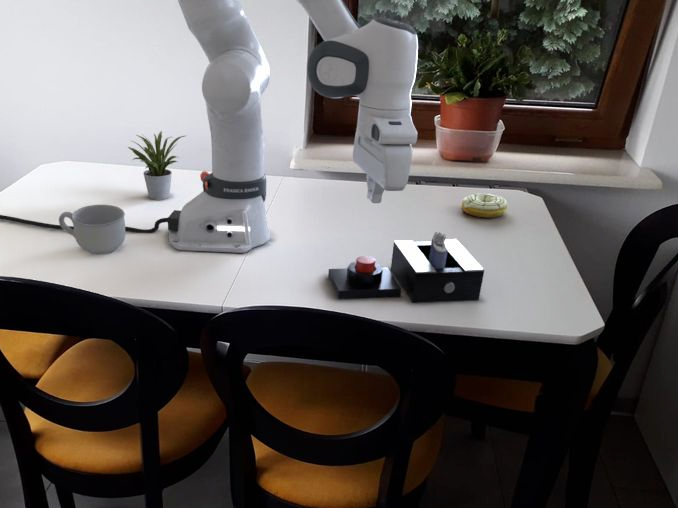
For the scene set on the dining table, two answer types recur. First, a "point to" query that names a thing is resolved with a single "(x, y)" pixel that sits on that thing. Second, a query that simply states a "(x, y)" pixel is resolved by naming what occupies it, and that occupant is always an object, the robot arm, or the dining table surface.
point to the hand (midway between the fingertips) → (373, 200)
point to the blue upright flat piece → (438, 251)
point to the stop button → (365, 264)
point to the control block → (364, 283)
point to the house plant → (157, 167)
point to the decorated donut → (484, 205)
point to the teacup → (96, 227)
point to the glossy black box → (436, 272)
